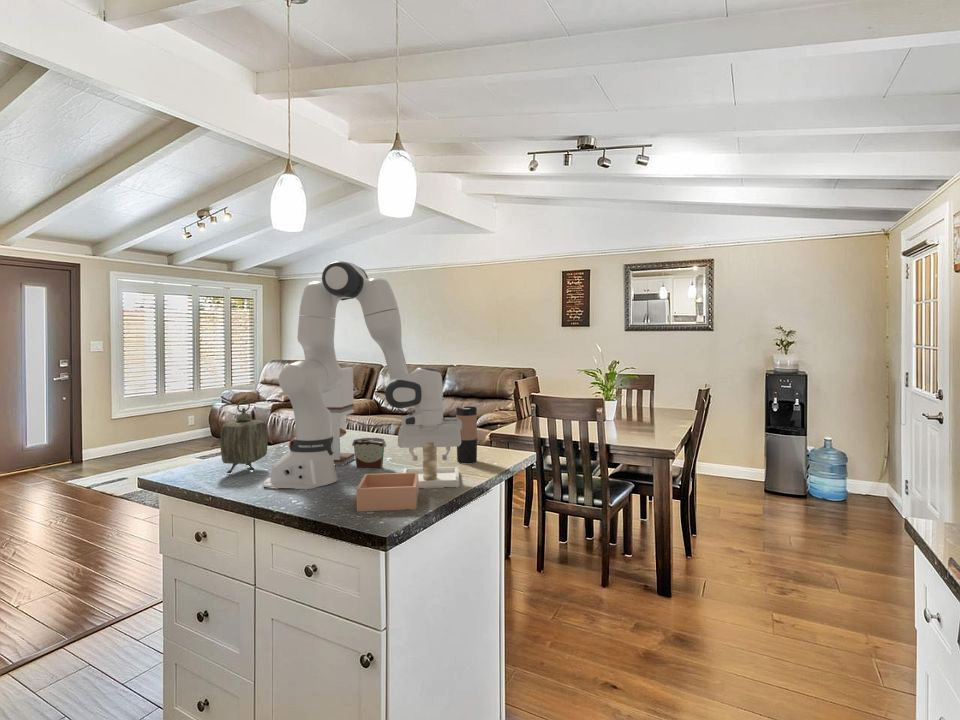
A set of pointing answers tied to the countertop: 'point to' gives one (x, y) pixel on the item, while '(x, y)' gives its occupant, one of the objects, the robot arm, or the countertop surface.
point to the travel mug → (467, 435)
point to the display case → (340, 412)
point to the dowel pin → (429, 462)
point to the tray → (444, 477)
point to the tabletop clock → (243, 440)
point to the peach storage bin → (388, 492)
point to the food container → (369, 452)
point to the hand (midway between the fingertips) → (430, 460)
